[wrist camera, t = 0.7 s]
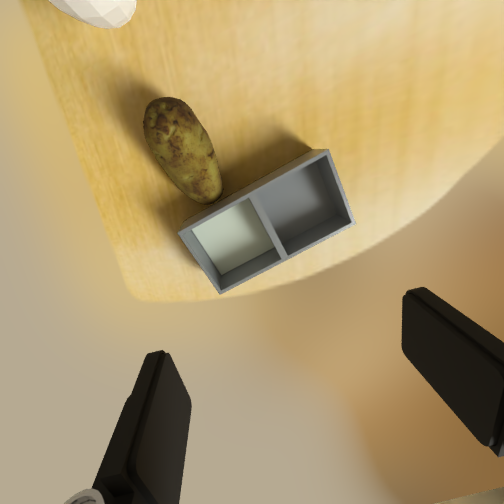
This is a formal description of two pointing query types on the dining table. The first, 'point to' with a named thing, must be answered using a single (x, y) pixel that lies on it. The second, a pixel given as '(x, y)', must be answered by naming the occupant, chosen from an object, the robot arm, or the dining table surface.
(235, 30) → the dining table surface
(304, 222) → the divided open storage box
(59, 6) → the cup
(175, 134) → the potato
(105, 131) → the dining table surface
